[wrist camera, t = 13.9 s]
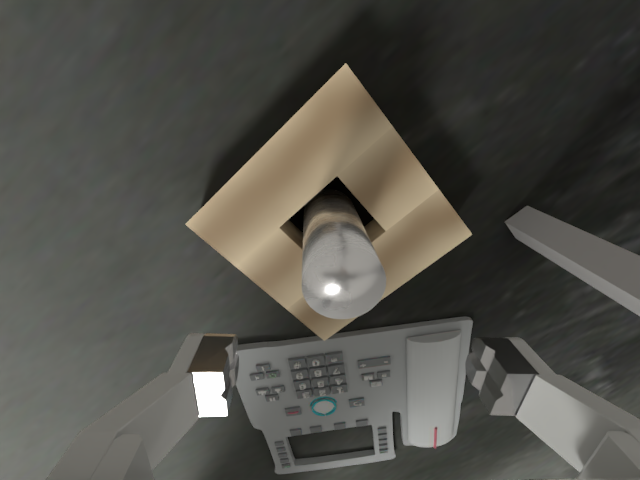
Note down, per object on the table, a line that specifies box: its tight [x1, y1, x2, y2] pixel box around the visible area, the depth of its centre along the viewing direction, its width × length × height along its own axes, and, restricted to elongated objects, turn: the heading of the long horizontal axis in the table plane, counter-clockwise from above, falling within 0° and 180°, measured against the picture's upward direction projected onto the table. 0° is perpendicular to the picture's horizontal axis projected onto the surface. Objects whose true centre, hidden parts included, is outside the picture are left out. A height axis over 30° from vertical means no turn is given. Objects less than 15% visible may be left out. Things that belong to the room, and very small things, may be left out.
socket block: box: [185, 63, 472, 341], centre depth 22 cm, size 14×14×3 cm
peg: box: [302, 190, 386, 319], centre depth 18 cm, size 4×4×10 cm
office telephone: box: [236, 316, 473, 474], centre depth 31 cm, size 23×3×20 cm
